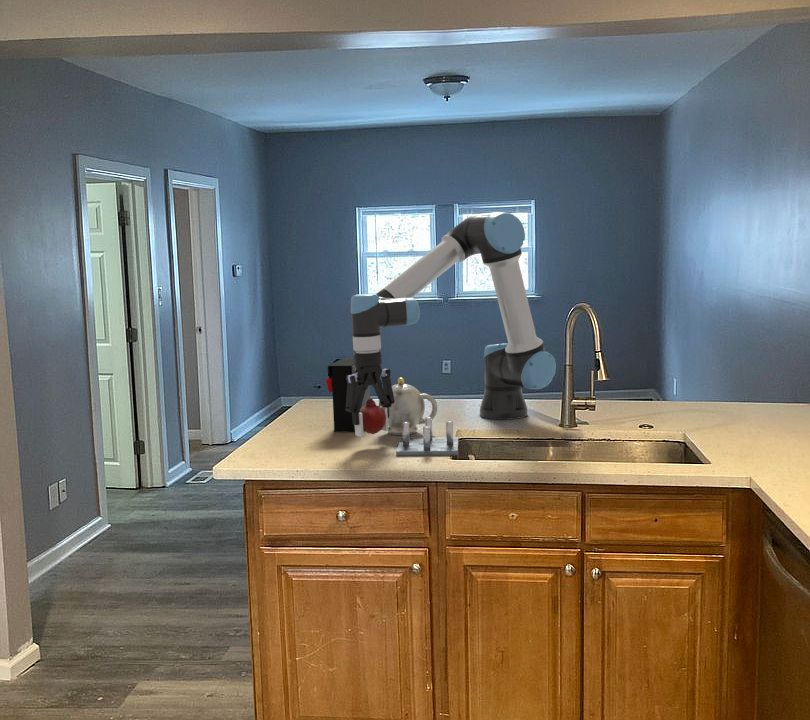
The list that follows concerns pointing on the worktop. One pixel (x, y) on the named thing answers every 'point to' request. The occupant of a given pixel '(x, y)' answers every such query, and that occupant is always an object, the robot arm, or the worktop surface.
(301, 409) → the worktop surface
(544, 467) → the worktop surface
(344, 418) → the electrical component
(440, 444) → the grey square pegged plate
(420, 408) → the teapot
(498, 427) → the worktop surface
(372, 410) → the fruit
